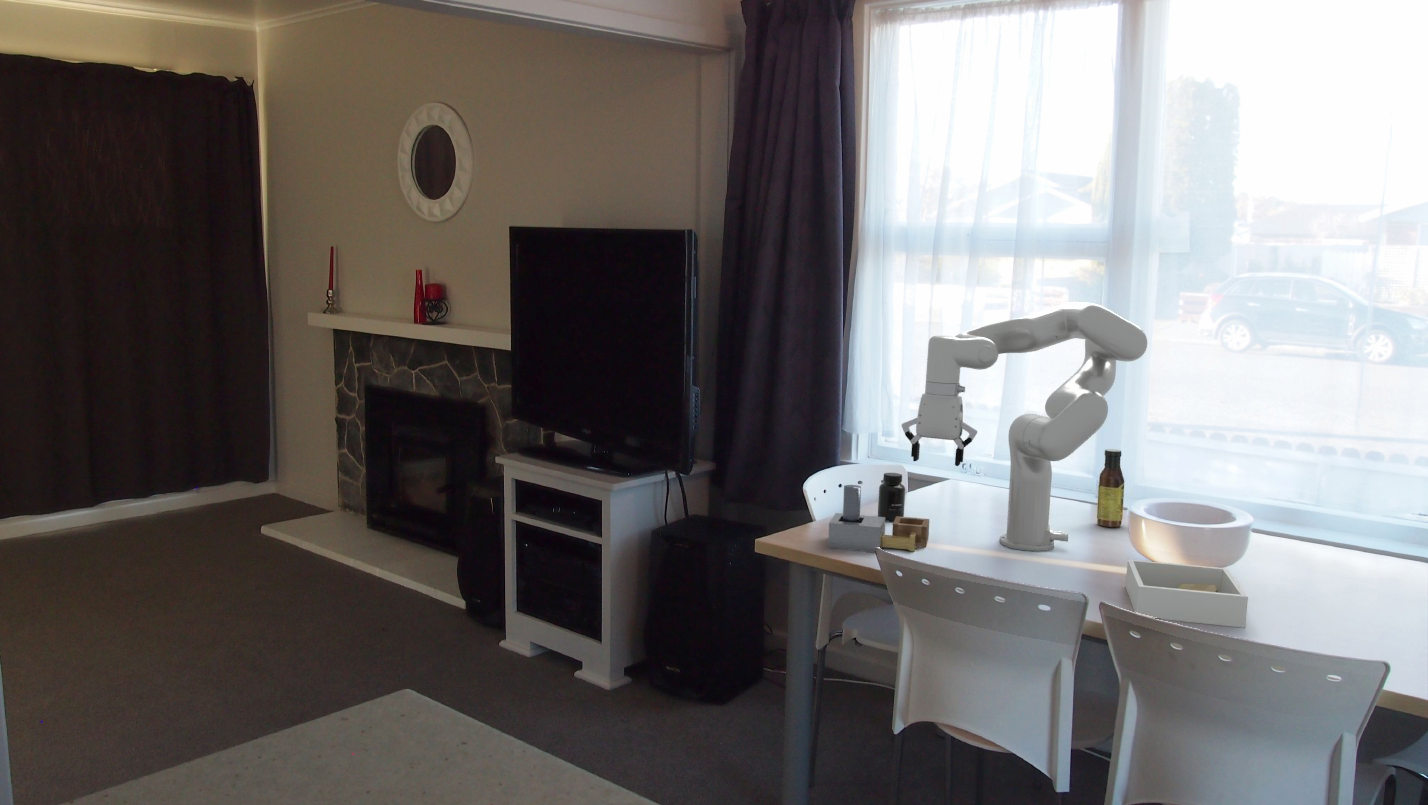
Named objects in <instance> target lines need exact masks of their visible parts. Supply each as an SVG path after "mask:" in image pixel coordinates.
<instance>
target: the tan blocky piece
mask: <svg viewBox="0 0 1428 805" xmlns="http://www.w3.org/2000/svg"><path fill="white" fill-rule="evenodd" d="M881 548H887V549H898V550H908V551H909V552H912V553H913V552H915V551H916V548H917V547H916V533H913V532H911V534H910V537H904V536H893V535H892V534H891V535H890V534H885V535H882V541H881Z"/></svg>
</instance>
